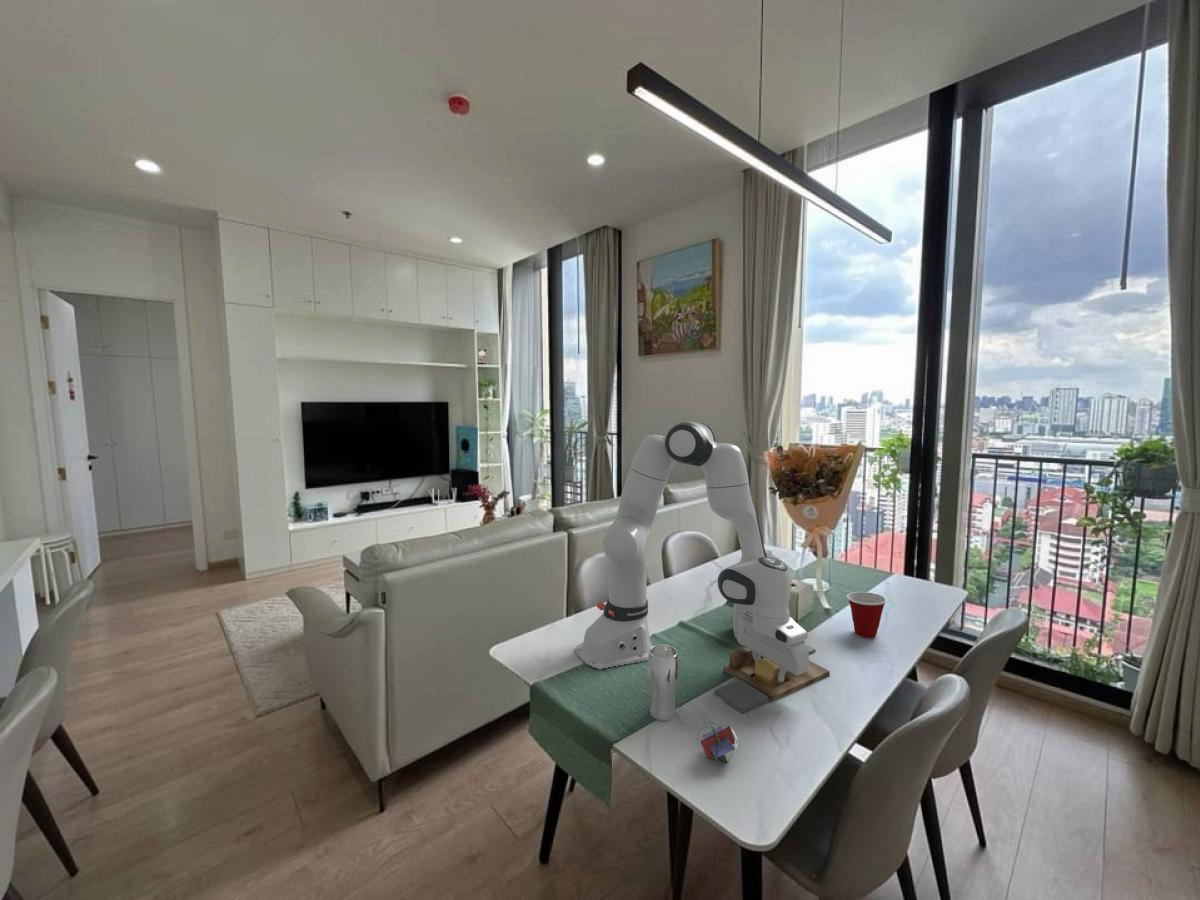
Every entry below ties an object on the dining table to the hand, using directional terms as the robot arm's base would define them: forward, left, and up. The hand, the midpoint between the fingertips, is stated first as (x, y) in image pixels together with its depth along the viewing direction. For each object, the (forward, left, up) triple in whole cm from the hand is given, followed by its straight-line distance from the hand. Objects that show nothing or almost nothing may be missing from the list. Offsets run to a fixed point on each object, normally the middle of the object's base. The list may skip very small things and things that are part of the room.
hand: (769, 674), depth 126 cm
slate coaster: (-11, -1, -2) cm, 11 cm away
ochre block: (0, 0, -2) cm, 2 cm away
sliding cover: (+10, +3, +3) cm, 11 cm away
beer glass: (-31, +4, -2) cm, 31 cm away
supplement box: (+15, +22, -2) cm, 27 cm away
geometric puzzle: (-30, -13, -2) cm, 33 cm away
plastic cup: (+46, +3, -2) cm, 46 cm away
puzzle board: (+5, +2, -2) cm, 6 cm away
